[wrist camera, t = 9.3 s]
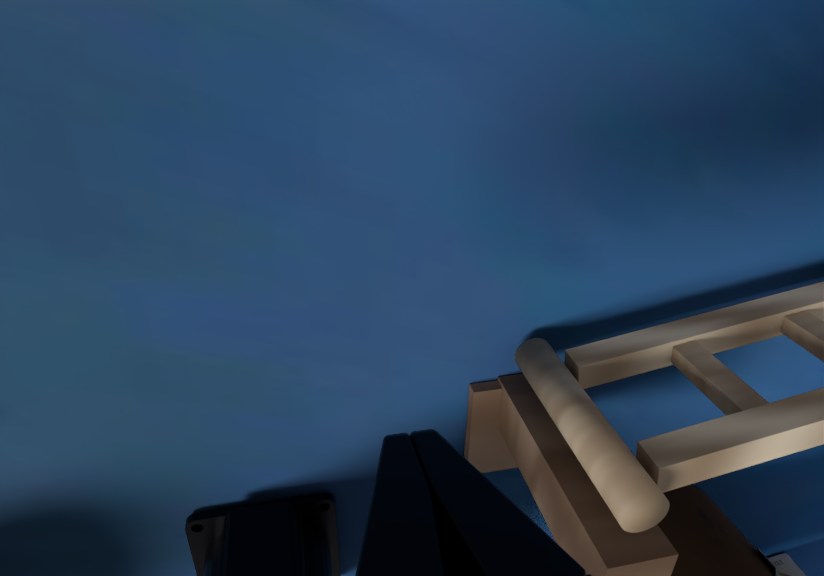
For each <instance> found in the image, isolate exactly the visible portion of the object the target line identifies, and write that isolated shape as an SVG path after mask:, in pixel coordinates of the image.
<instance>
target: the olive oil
mask: <svg viewBox="0 0 824 576" xmlns="http://www.w3.org/2000/svg"><path fill="white" fill-rule="evenodd" d="M663 494H664V495H665V497H666V498H667V499H668V501H669V504H670V505H669V510H668V512H667V514H666V516H665V517H664V518H663V519H662V520H661V521H660V522H659V523H658V526H659V527H660V529H661V530H662V531H663V533H664V534H665V536H666V537H667V538H668V540H669V541H670V543H671V544H672V545H673V547H674V548H675V550H676V551H677V553H678V554H679V555H678V558H677V561H676V563H675V566H674V569H673V571H672V574H671V576H780V575H779V574H778V573H777V570H776V568H775V566H774V565H773V564H772V563H771V562H770V561H769V560H768V559H767V557H766V556H765V555H764V554H763V553H762V552H761V550H760V549H759V548H758V547H757V546H756V545H755V546H756V547H757V550H758V549H759V550H758V551H757V550H756V549H755V548H754V547H753V545H752V544H751V543H750V542H749V541H748V540H747V539H746V538H745V536H744V535H743V534H742V533H741V532H740V531H739V530H738V529H737V527H736V526H735V525H734V524H733V523H732V522H731V521H730V520H729V519H728V517H727V516H726V515H725V514H724V513H723V512H722V511H721V510H720V508H719V507H718V506H717V505H716V504H715V503H714V502H713V501H712V500H711V499H710V498H709V497H708V496H707V495H706V494H705V493H704V492H703V491H701V490H700V489H698V488H696V487H694V486H691V485H687V486H683V487H680V488H677V489H673V490H670V491H667V492H663Z"/></svg>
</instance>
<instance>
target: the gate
mask: <svg viewBox="0 0 824 576" xmlns="http://www.w3.org/2000/svg"><path fill="white" fill-rule="evenodd" d="M780 335H785V336H787V337H788V338H790V339H791V340H793V341H794V342H796V343H797V344H798V345H800V346H801V347H803V348H804V349H806V350H807V351H809V352H810V353H812V354H813V355H814V356H816V357H817V358H819V359H820V360H822V361H823V362H824V282H820V283H816V284H812V285H808V286H805V287H801V288H797V289H793V290H789V291H786V292H782V293H778V294H774V295H771V296H767V297H763V298H759V299H755V300H752V301H748V302H744V303H740V304H736V305H733V306H729V307H725V308H721V309H718V310H714V311H710V312H706V313H702V314H699V315H695V316H691V317H687V318H684V319H680V320H676V321H672V322H668V323H665V324H661V325H657V326H653V327H649V328H646V329H642V330H638V331H634V332H631V333H627V334H623V335H619V336H615V337H612V338H608V339H604V340H600V341H597V342H593V343H589V344H585V345H581V346H578V347H574V348H570V349H566V350H565V364H564V363H563V362H562V360H561V359H560V358H559V356H558V355H557V354H556V352H555V351H554V350H553V349H552V347H551V346H550V345H549V343H548V342H547V341H546V340H544V339H542V338H532V339H529V340H527V341H525V342H524V343H522V344H521V345H520V346H519V347H518V349H517V351H516V353H515V361H516V363H517V365H518V367H519V368H520V370H521V371H522V373H523V374H524V376H525V378H526V379H527V381H528V382H529V384H530V385H531V387H532V388H533V390H534V392H535V393H536V395H537V396H538V398H539V399H540V401H541V403H542V404H543V406H544V407H545V409H546V410H547V412H548V413H549V415H550V417H551V418H552V420H553V421H554V423H555V424H556V426H557V428H558V429H559V431H560V432H561V434H562V435H563V437H564V438H565V440H566V442H567V443H568V445H569V446H570V448H571V449H572V451H573V453H574V454H575V456H576V457H577V459H578V460H579V462H580V463H581V465H582V467H583V468H584V470H585V471H586V473H587V474H588V476H589V478H590V479H591V481H592V482H593V484H594V485H595V487H596V488H597V490H598V492H599V493H600V495H601V496H602V498H603V499H604V501H605V503H606V504H607V506H608V507H609V509H610V510H611V512H612V514H613V515H614V517H615V518H616V520H617V521H618V523H619V524H620V526H621V528H622V529H623V530H624V531H626V532H630V533H637V532H642V531H645V530H648V529H650V528H652V527H654V526H655V525H657V524H658V523H659V522H660V521H661V520H662V519H663V518H664V517H665V516H666V514H667V512H668V510H669V505H670V504H669V501H668V499H667V498H666V497H665V495H664V494H663V492H667V491H670V490H673V489H677V488H680V487H683V486H687V485H690V484H693V483H697V482H700V481H703V480H707V479H710V478H713V477H717V476H720V475H723V474H727V473H730V472H733V471H736V470H740V469H743V468H746V467H750V466H753V465H756V464H760V463H763V462H766V461H770V460H773V459H776V458H780V457H783V456H786V455H790V454H793V453H796V452H800V451H803V450H806V449H809V448H813V447H816V446H819V445H823V444H824V388H821V389H817V390H814V391H810V392H807V393H803V394H800V395H796V396H793V397H789V398H786V399H782V400H779V401H775V402H772V403H769V402H767V401H766V400H765V399H764V398H763V397H762V396H760V395H759V394H758V393H757V392H756V391H754V390H753V389H752V388H751V387H750V386H749V385H747V384H746V383H745V382H744V381H743V380H742V379H740V378H739V377H738V376H737V375H736V374H734V373H733V372H732V371H731V370H730V369H729V368H727V367H726V366H725V365H724V364H723V363H721V362H720V361H719V360H718V359H717V358H716V357H714V356H713V355H712V354H714V353H718V352H722V351H725V350H729V349H733V348H736V347H740V346H743V345H747V344H751V343H754V342H758V341H762V340H765V339H769V338H773V337H776V336H780ZM670 365H674V366H675V367H676V368H677V369H678V370H680V371H681V372H682V373H683V374H684V375H685V376H686V377H687V378H688V379H689V380H690V381H691V382H692V383H693V384H694V385H695V386H696V387H697V388H698V389H699V390H700V391H702V392H703V393H704V394H705V395H706V396H707V397H708V398H709V399H710V400H711V401H712V402H713V403H714V404H715V405H716V406H717V407H718V408H719V409H720V410H721V411H722V412H723V413H725V414H726V415H727V416H723V417H720V418H717V419H713V420H710V421H706V422H703V423H699V424H696V425H692V426H689V427H685V428H682V429H678V430H675V431H672V432H668V433H665V434H661V435H658V436H654V437H651V438H647V439H644V440H640V441H637V455H636V457H635V456H634V455H633V453H632V452H631V451H630V449H629V448H628V447H627V445H626V444H625V443H624V442H623V440H622V439H621V438H620V436H619V435H618V434H617V432H616V431H615V430H614V428H613V427H612V426H611V424H610V423H609V422H608V421H607V419H606V418H605V417H604V415H603V414H602V413H601V411H600V410H599V409H598V407H597V406H596V405H595V404H594V402H593V401H592V400H591V398H590V397H589V396H588V394H587V393H586V392H585V390H584V389H586V388H590V387H594V386H597V385H601V384H605V383H608V382H612V381H616V380H619V379H623V378H627V377H630V376H634V375H638V374H641V373H645V372H649V371H652V370H656V369H659V368H663V367H667V366H670Z"/></svg>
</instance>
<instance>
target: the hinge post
mask: <svg viewBox="0 0 824 576" xmlns="http://www.w3.org/2000/svg"><path fill="white" fill-rule="evenodd" d="M464 457H465V458H466V459H467V460H468V461H469V462H470V463H471V464H472V465H473V466H474V467H475V468H476V469H477V470H479V471H480V472H481V473H487V472H493V471H499V470H505V469H512V468H519V470H520V472H521V474H522V476H523V478H524V480H525V482H526V483H527V485H528V487H529V489H530V491H531V493H532V495H533V497H534V499H535V501H536V503H537V505H538V507H539V509H540V511H541V513H542V515H543V517H544V519H545V521H546V523H547V525H548V527H549V529H550V531H551V533H552V535H553V537H554V539H555V541H556V543H557V544H558V545H559V546H560V547H561V548H562V549H563V550H565V551H566V552H567V553H568V554H569V555H570V556H571V557H572V558H573V559H574V560H575V561H576V562H577V563H579V564H580V565H581V566H582V567H583V568H584V569H585V570H586V575H587V574H591V575H592V576H671V574H672V571H673V569H674V566H675V563H676V561H677V558H678V555H679V554H678V553H677V551H676V550H675V548H674V547H673V545H672V544H671V543H670V541H669V540H668V538H667V537H666V536H665V534H664V533H663V531H662V530H661V529H660V527H659V526H658V524H657V525H655V526H654V527H652V528H650V529H648V530H645V531H642V532H637V533H630V532H626V531H624V530H623V529H622V528H621V526H620V524H619V523H618V521H617V520H616V518H615V517H614V515H613V514H612V512H611V510H610V509H609V507H608V506H607V504H606V503H605V501H604V499H603V498H602V496H601V495H600V493H599V492H598V490H597V488H596V487H595V485H594V484H593V482H592V481H591V479H590V478H589V476H588V474H587V473H586V471H585V470H584V468H583V467H582V465H581V463H580V462H579V460H578V459H577V457H576V456H575V454H574V453H573V451H572V449H571V448H570V446H569V445H568V443H567V442H566V440H565V438H564V437H563V435H562V434H561V432H560V431H559V429H558V428H557V426H556V424H555V423H554V421H553V420H552V418H551V417H550V415H549V413H548V412H547V410H546V409H545V407H544V406H543V404H542V403H541V401H540V399H539V398H538V396H537V395H536V393H535V392H534V390H533V388H532V387H531V385H530V384H529V382H528V381H527V379H526V378H525V376H524V374H516V375H508V376H500V377H498V380H497V381H489V382H481V383H473V384H470V386H469V399H468V412H467V424H466V437H465V449H464Z"/></svg>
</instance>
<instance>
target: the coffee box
mask: <svg viewBox="0 0 824 576" xmlns="http://www.w3.org/2000/svg"><path fill="white" fill-rule="evenodd" d="M767 559H768V560H769V561H770V562H771V563H772V564H773V565H774V566H775V568H776V570H777V573H778V574H779V575H780V576H806V575H805V574H804V573H803V572H802V570H801V569H800V568H799V567H798V566H797V565H796V564H795V563H794V561H793V560H792V559H791V558H790V556H789V555H788V554H786V553H783V554H779V555H776V556H773V557H769V558H767Z"/></svg>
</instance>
